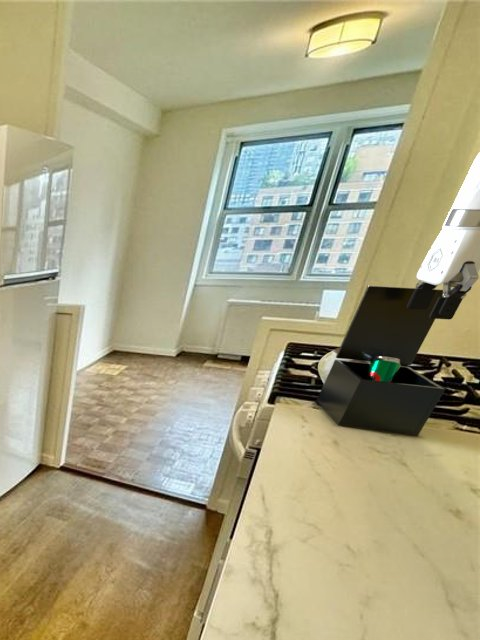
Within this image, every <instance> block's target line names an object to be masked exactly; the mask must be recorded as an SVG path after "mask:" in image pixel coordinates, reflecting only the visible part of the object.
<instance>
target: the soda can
mask: <svg viewBox="0 0 480 640" xmlns="http://www.w3.org/2000/svg"><path fill="white" fill-rule="evenodd" d="M400 366H402V364H400V359H397V358H392V357H384V356H378V357H374V359H373V360H372V361H370V363H369V366H368V368H367V370H366V373H365V375H364V378H363V379H365V380H374V381H383V382H392V383H394V380H395V378H396V376H397V373H398V371H399V369H400Z"/></svg>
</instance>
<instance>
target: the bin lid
mask: <svg viewBox="0 0 480 640" xmlns="http://www.w3.org/2000/svg"><path fill="white" fill-rule="evenodd" d="M415 289H418V288H415V287H400V286H385V285H384V286H382V285H381V286H380V285H367V287H366V289H365V290H364V293H363V295H362V297H361V300H360V302H359V304H358V306H357V308H356V311H355V313H354V315H353V318H352V319H351V322H350V324H349V326H348V329H347V331H346V333H345V335H344V337H343V340H342V342H341V344H340V347H338V348H339V351H338V353H337V355H336V358H341V359H352V360H362V361H372V360H373V359H374V357H378V356H384V357H392V358H397V359H400V364H401V365H402V366H412V364H413V362H414V360H415V358H416V356H417V355H418V353H419V351H420V349H421V347H422V345H423V344H424V342H425V340H426V338H427V336H428V334H429V332H430V330H431V328H432V326H433V325H434V322H435V320H436V319H432V318H430V317H429V315H430V313H431V311H432V310H433V308H434V306H435V304H436V302H437V300H438V298H439V297H442V296H443V289H439V288H438V289H437V288H435V290H437V291H436V293H435V295H434V297H433V299H432V301H431V303H430V305H429V307H428V308H427V309H425V310H423V309H408V308H407V305H408V303H409V301H410V298H411V296H412V294H413V292H414V290H415Z"/></svg>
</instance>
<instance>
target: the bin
mask: <svg viewBox="0 0 480 640" xmlns="http://www.w3.org/2000/svg"><path fill="white" fill-rule="evenodd" d="M368 366H369V363H365V362H355V361H345V360H335V361H334V363H333V365H332V368H331V370H330V372H329V374H328V376H327V379H326V381H325V383H323V385H322V387H321V389H320V392H319V394H318V396H317V398H316V400H315V402H316V403H317V405H319V406H320V407H321V409H322V410H323V411H324V412H325V413H326V414H327V415H328V416H329V417H330V418H331V419H332V421H334V422H335V424H336V425H337V426H338V427H345V428H346V427H347V428H352V429H353V428H354V429H359V430H367V431H375V432H383V433H391V434H398V435H404V436H406V435H407V436H411V437H419V435H420V433H421V431H422V430H423V428H424V426H425V424H426V423H427V422H428V419H429V418H430V416H431V414H432V413H433V411H434V409H435V408H436V406H437V404H438V403H439V401H440V399H441V398H442V396H443V394H444V392H445V391H446V388H444V387H443V386H441V385H440V384H437V383H436V382H434V381H433V380H431V379H429V378H428V377H426V376H425V375H423V374H422V373H420V372H418V371H417V370H416V369H413V368H412V367H410V366H406V365H401V366H400V369H399V371H398V373H397V376H396V378H395V380H394V383H392V382H383V381H374V380H365V379H363V378H364V375H365V373H366V370H367V368H368Z"/></svg>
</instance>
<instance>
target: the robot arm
mask: <svg viewBox="0 0 480 640" xmlns="http://www.w3.org/2000/svg"><path fill="white" fill-rule="evenodd" d="M441 229H442V230H441V231H440V233H439V234H438V235H437V237H436V239H435V240H434V242H433V243H432V245H431V247H430V249H429V250H428V252H427V254H426V255H425V258H424V260H423V262H422V263H421V265H420V267H419V269H418V271H417V273H416V279H417V280H418V282H417V283H416V284H415V287H414V288H418V289H415V290H414V292H413V294H412V296H411V298H410V301H409V303H408V305H407V308H408V309H423V310H425V309H427V308H428V307H429V305H430V303H431V301H432V299H433V297H434V295H435V293H436V291H437V290H435V289H437V287H439V286H441V285H442V284H443V285H442V290H443V296H442V297H439V298H438V300H437V302H436V304H435V306H434V308H433V310H432V311H431V313H430V315H429V317H430V318H432V319H435V320H452V319H453V318H454V316H455V315H456V313H457V311H458V309H459V307H460V305H461V303H462V302H463V299H465V298H466V297H467V293H468V292H470V291H471V290H472V288H473V285H474V284H475V283H476V282H477V281H478V280H479V277H480V275H479V272H480V151H479V152H478V153H477V155H476V157H475V159H474V160H473V163H472V165H471V167H470V169H469V171H468V174H467V175H466V177H465V180H464V181H463V183H462V186H461V188H460V190H459V191H458V194H457V196H456V198H455V200H454V203H453V204H452V207H451V209H450V211H449V212H448V215H447V217H446V219H445V221H444V223H443V225H442V227H441Z"/></svg>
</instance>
